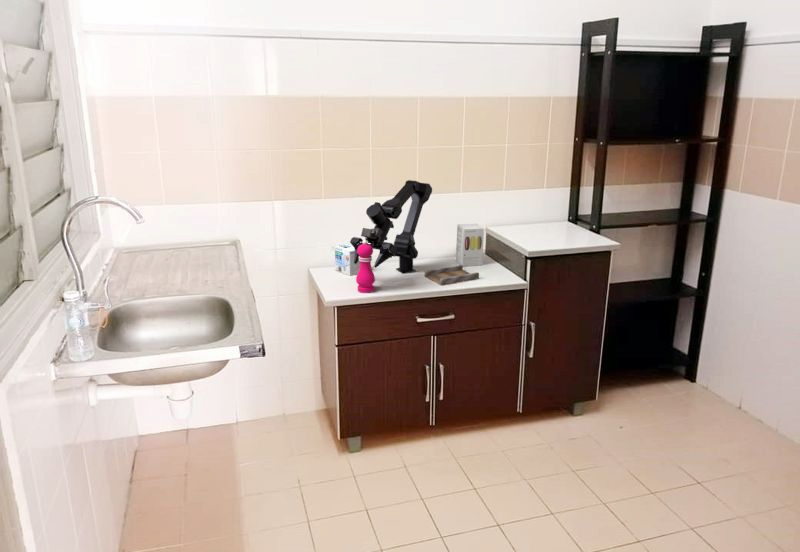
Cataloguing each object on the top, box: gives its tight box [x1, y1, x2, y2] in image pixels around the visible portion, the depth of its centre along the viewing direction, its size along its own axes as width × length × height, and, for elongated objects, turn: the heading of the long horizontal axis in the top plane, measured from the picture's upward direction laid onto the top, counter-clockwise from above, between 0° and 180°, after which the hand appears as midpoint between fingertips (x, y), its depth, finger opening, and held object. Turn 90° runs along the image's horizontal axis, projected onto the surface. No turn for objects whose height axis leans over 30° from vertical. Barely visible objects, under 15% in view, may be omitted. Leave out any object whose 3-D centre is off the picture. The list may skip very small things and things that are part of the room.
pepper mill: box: [355, 239, 376, 294], centre depth 237 cm, size 7×7×20 cm
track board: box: [424, 264, 480, 286], centre depth 255 cm, size 18×13×2 cm
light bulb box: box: [334, 243, 360, 277], centre depth 261 cm, size 11×7×11 cm, turn 42°
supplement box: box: [455, 223, 485, 267], centre depth 273 cm, size 10×9×17 cm
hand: (364, 265), depth 236 cm, fingers open, 9 cm apart
